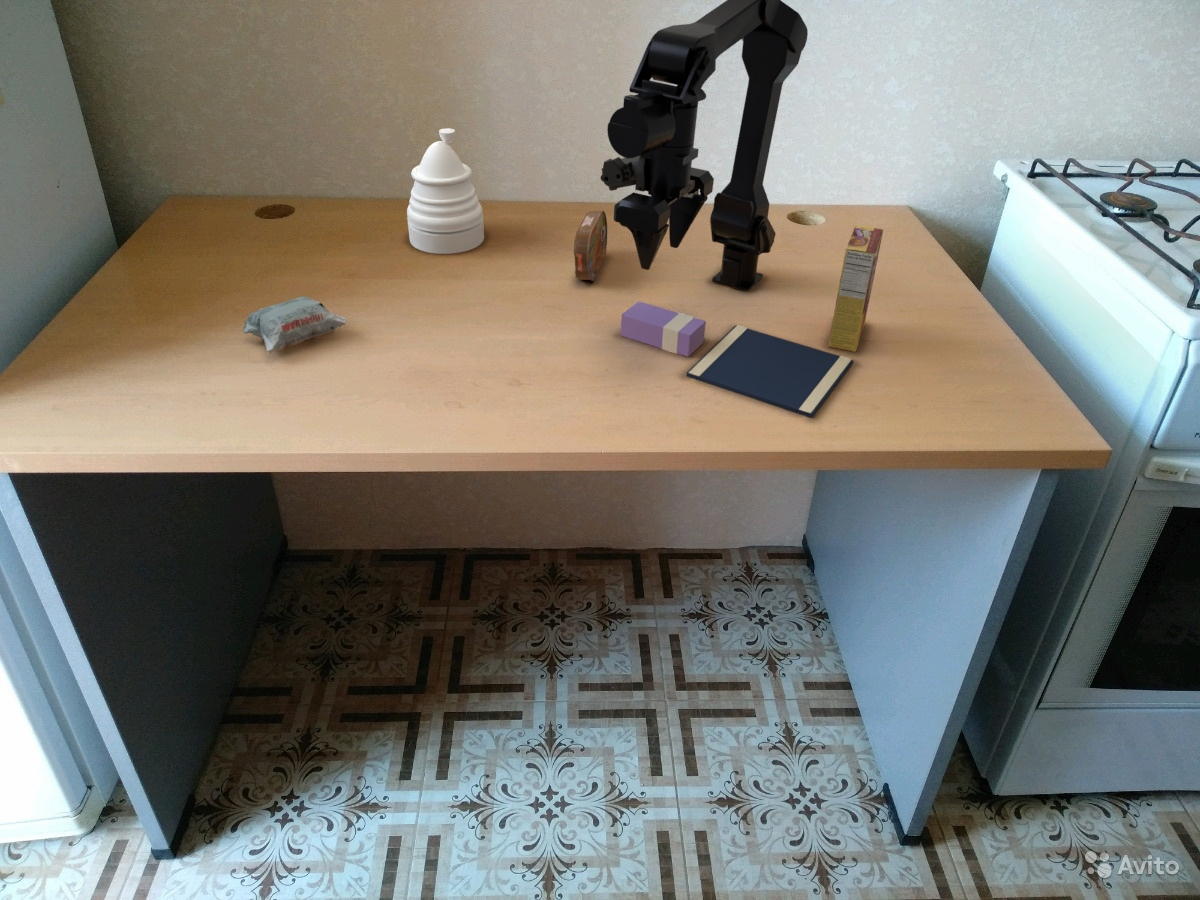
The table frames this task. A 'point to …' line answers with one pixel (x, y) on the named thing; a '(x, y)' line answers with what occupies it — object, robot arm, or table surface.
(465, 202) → the honey pot
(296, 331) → the packaged food
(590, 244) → the tin
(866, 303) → the candy box
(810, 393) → the towel
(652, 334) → the chocolate
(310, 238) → the table surface
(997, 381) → the table surface
